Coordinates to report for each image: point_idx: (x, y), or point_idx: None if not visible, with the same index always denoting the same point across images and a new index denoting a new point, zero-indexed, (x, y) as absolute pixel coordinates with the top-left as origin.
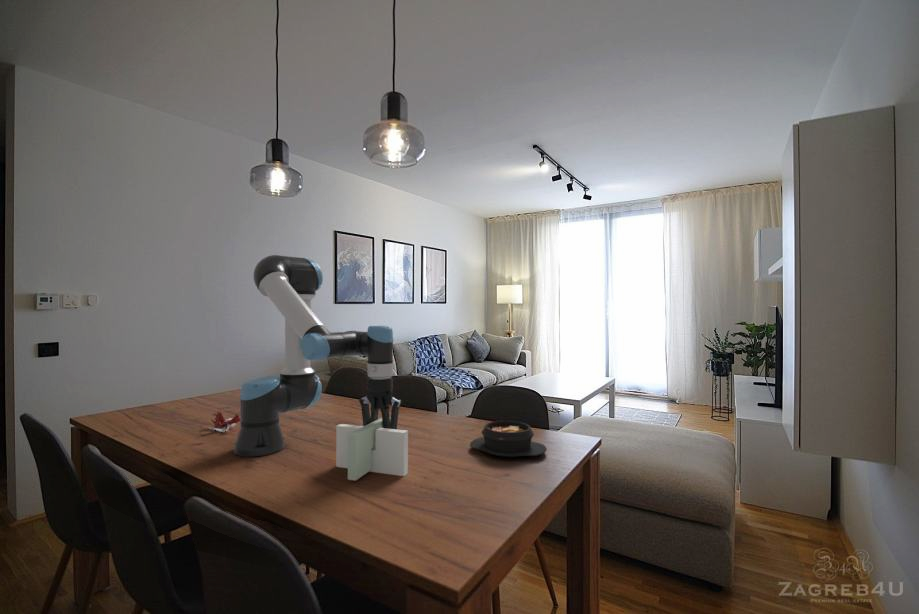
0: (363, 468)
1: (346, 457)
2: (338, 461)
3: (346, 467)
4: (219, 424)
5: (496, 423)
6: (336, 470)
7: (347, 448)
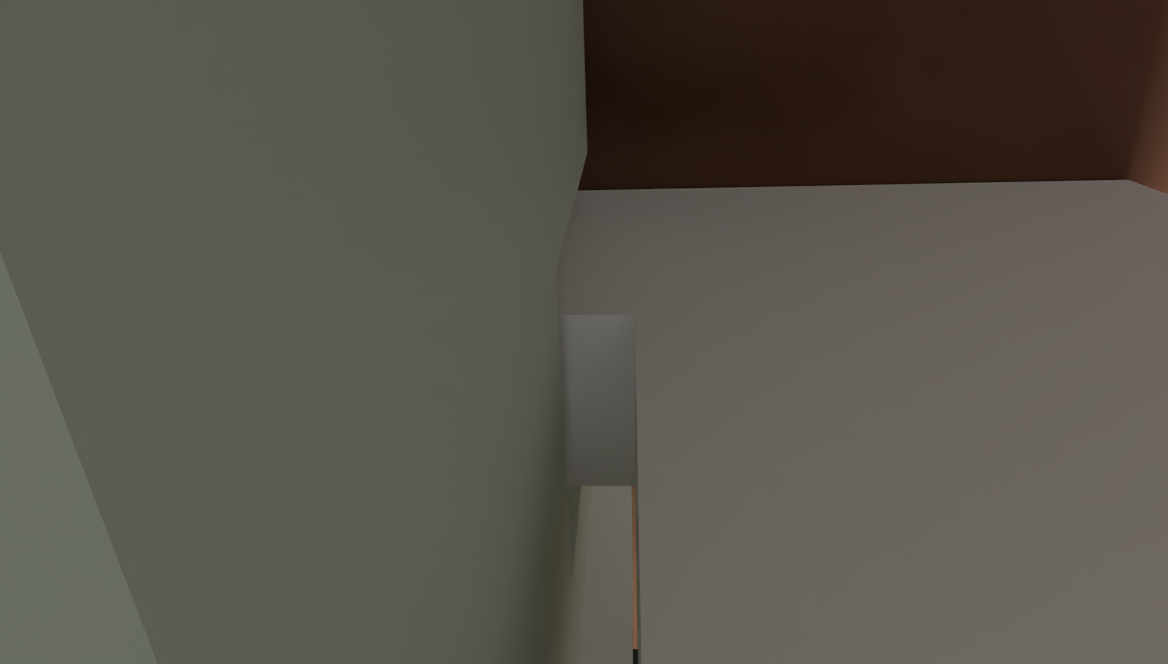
0: None
1: (1012, 234)
2: (1142, 202)
3: (936, 188)
4: None
5: None
6: (1061, 47)
7: (1094, 302)
